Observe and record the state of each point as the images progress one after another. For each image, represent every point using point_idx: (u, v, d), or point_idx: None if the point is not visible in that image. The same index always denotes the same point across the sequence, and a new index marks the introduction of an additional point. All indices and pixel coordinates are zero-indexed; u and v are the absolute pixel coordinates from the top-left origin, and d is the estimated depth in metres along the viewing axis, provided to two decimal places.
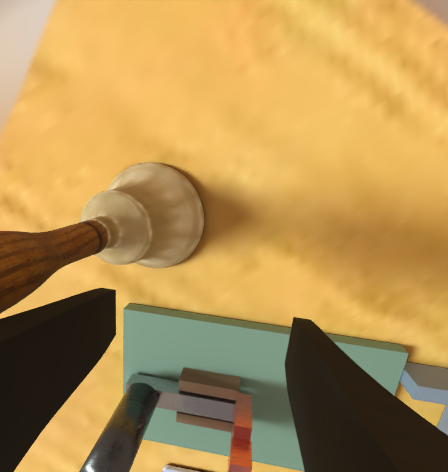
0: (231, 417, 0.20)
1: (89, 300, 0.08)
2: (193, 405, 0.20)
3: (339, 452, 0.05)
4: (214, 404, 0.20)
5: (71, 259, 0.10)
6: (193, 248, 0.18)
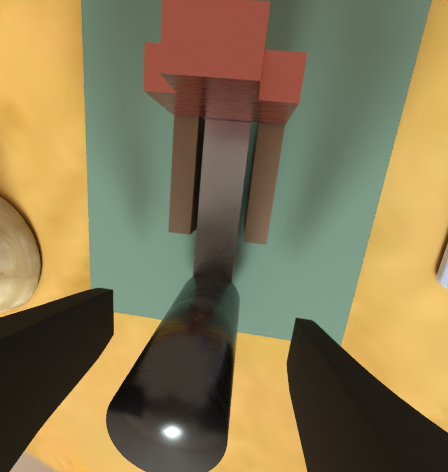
0: (240, 126, 0.09)
1: (86, 299, 0.08)
2: (218, 206, 0.10)
3: (343, 453, 0.05)
4: (211, 163, 0.10)
5: None
6: None
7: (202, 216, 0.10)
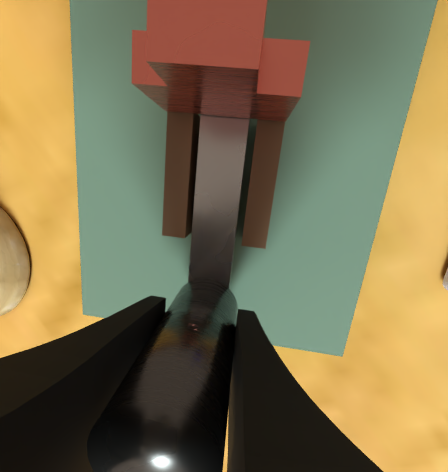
0: (238, 123, 0.09)
1: (149, 309, 0.08)
2: (215, 208, 0.09)
3: (235, 432, 0.05)
4: (207, 163, 0.09)
5: None
6: None
7: (197, 219, 0.10)
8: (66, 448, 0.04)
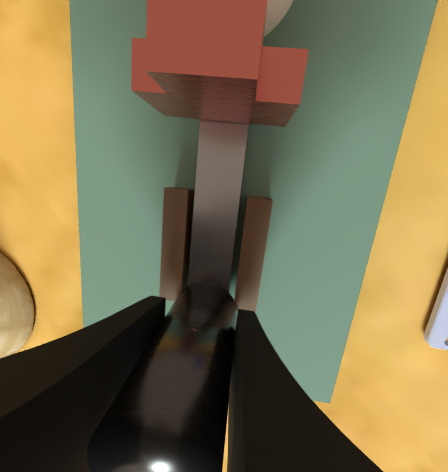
0: (237, 127, 0.09)
1: (149, 309, 0.08)
2: (214, 212, 0.10)
3: (235, 432, 0.05)
4: (207, 167, 0.09)
5: None
6: None
7: (197, 223, 0.10)
8: (66, 448, 0.04)
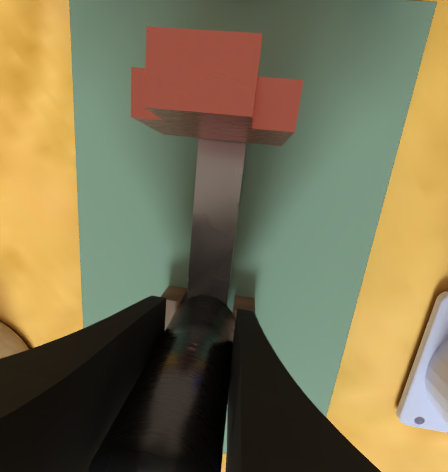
0: (235, 146, 0.09)
1: (149, 309, 0.08)
2: (212, 228, 0.10)
3: (234, 432, 0.05)
4: (205, 185, 0.09)
5: None
6: None
7: (196, 238, 0.10)
8: (67, 448, 0.04)
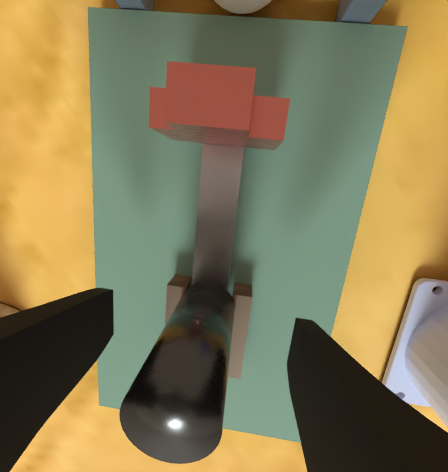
0: (234, 150, 0.10)
1: (86, 299, 0.08)
2: (214, 221, 0.11)
3: (343, 453, 0.05)
4: (208, 183, 0.11)
5: None
6: None
7: (200, 230, 0.11)
8: None
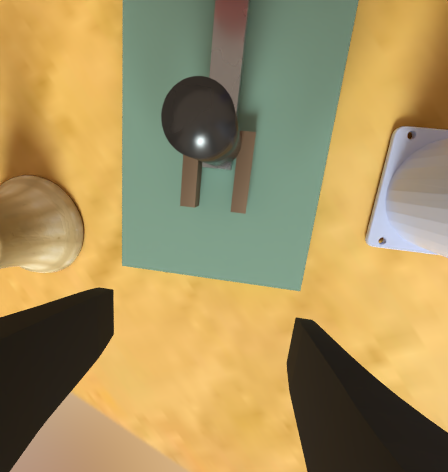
0: None
1: (86, 299, 0.08)
2: (225, 60, 0.14)
3: (343, 453, 0.05)
4: (220, 25, 0.13)
5: None
6: (51, 184, 0.19)
7: (213, 70, 0.14)
8: None
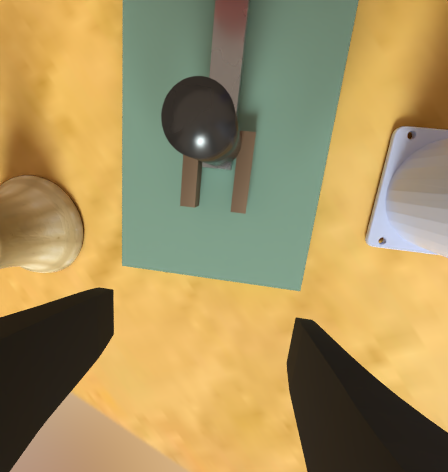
0: None
1: (86, 299, 0.08)
2: (225, 60, 0.14)
3: (343, 453, 0.05)
4: (220, 25, 0.13)
5: None
6: (50, 184, 0.19)
7: (213, 70, 0.14)
8: None
